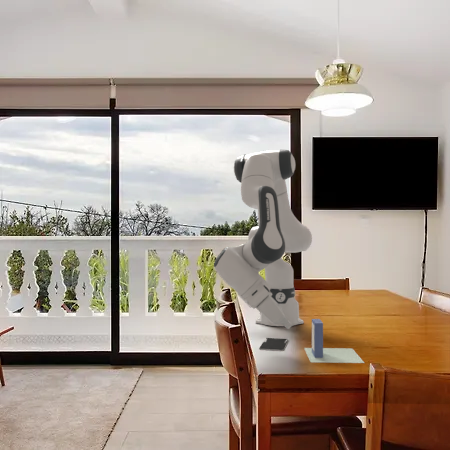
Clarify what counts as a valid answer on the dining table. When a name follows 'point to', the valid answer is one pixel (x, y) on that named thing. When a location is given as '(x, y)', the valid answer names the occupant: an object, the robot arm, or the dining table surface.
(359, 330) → the dining table surface
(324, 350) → the mat
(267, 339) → the smartphone
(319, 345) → the box
